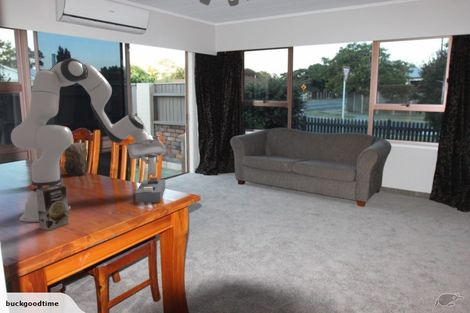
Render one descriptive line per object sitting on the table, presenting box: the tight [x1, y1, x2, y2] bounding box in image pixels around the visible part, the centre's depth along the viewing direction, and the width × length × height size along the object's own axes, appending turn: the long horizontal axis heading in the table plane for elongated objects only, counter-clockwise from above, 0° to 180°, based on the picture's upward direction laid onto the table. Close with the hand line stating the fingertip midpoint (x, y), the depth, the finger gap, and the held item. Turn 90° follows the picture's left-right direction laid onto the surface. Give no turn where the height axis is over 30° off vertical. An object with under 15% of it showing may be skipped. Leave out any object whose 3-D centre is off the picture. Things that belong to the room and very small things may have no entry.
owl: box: [63, 142, 89, 177], centre depth 230 cm, size 13×13×20 cm
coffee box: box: [36, 184, 70, 231], centre depth 143 cm, size 9×6×16 cm
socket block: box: [134, 176, 166, 204], centre depth 186 cm, size 25×12×7 cm, turn 5°
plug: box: [147, 154, 157, 176], centre depth 190 cm, size 4×4×11 cm
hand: (152, 162), depth 189 cm, fingers closed on plug, 4 cm apart
